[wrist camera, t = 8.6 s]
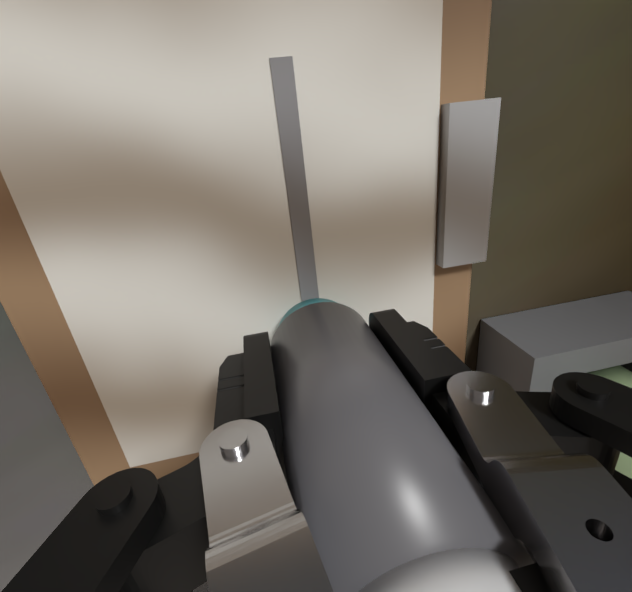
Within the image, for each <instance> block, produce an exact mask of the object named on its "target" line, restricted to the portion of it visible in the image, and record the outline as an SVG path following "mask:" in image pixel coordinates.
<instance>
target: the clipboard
mask: <svg viewBox="0 0 632 592" xmlns="http://www.w3.org/2000/svg"><path fill="white" fill-rule="evenodd" d="M491 5H492V0H0V301H1V303H2V305H3V307H4V309H5V311H6V313H7V315H8V317H9V319H10V321H11V323H12V325H13V327H14V329H15V331H16V333H17V335H18V337H19V339H20V341H21V343H22V345H23V347H24V348H25V350H26V352H27V354H28V356H29V358H30V360H31V362H32V364H33V366H34V368H35V370H36V372H37V374H38V376H39V378H40V380H41V382H42V384H43V386H44V388H45V390H46V392H47V394H48V396H49V398H50V400H51V402H52V404H53V406H54V408H55V410H56V412H57V413H58V415H59V417H60V419H61V421H62V423H63V425H64V427H65V429H66V431H67V433H68V435H69V437H70V439H71V441H72V443H73V445H74V447H75V449H76V451H77V453H78V455H79V457H80V459H81V461H82V463H83V465H84V467H85V469H86V471H87V473H88V475H89V476H90V478H91V480H92V482H93V484H94V486H95V485H96V484H97V483H99V482H100V481H101V480H103V479H105V478H106V477H108V476H110V475H112V474H114V473H116V472H119V471H122V470H125V469H129V468H144V469H147V470H149V471H151V472H152V473H153V474H154V475H155V476H156V478H157V479H159V478H161V477H163V476H165V475H167V474H169V473H171V472H173V471H175V470H177V469H180V468H181V467H183V466H185V465H187V464H189V463H190V462H191V461H193V460H194V459H195V458H197V457H198V456H199V451H200V447H201V445H202V443H203V441H204V440H205V438H206V437H207V436H208V435H209V434H210V433H211V432H212V431H213V428H214V418H215V407H216V397H217V392H218V391H217V387H218V376H219V367H220V366H221V364H222V363H223V362H224V360H225V359H226V357H227V356H229V355H235V354H240V353H244V351H243V336H245V335H251V334H256V333H262V332H267V331H268V335H269V340H270V346H271V341H272V338H273V335H274V333H275V331H276V329H277V328H278V326H279V324H280V321H281V319H282V318H283V316H284V315H285V314H286V313H287V312H288V310H290V309H291V308H292V307H293V306H295V305H296V304H298V303H300V302H302V301H305V300H309V299H314V298H324V299H329V300H332V301H335V302H337V303H339V304H343V305H346V306H348V307H350V308H352V309H353V310H355V311H356V312H357V313H359V314H360V315H361V316H362V317H363V319H364V320H365V321H366V323H367V324H368V326H369V314H370V313H372V312H378V311H383V310H389V309H395V310H396V311H397V312H398V313H399V314H400V315H401V316H402V317H403V318H404V319H405V321H406V322H411V321H415V322H417V323H419V324H421V325H423V326H426V327H428V328H429V329H430V330H431V331H432V332H433V333H434V334H435V335H436V336H437V338H438V339H440V340H441V341H442V342H443V343H444V344H445V346H447V347H448V348H449V349H450V350H451V351H452V352H453V353H454V354H455V355H456V356H457V357H458V358H459V359H460V360H462V361H463V362H465V349H466V335H467V322H468V309H469V296H470V282H471V269H472V263H477V262H483V261H486V256H487V246H488V235H489V224H490V213H491V202H492V191H493V181H494V170H495V159H496V148H497V137H498V126H499V115H500V105H501V98H492V99H484V98H485V84H486V71H487V58H488V45H489V32H490V18H491Z"/></svg>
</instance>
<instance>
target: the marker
mask: <svg viewBox="0 0 632 592" xmlns="http://www.w3.org/2000/svg"><path fill="white" fill-rule="evenodd" d="M271 352H272V359H273V366H274V373H275V380H276V386H277V393H278V400H279V407H280V414H281V420H282V427H283V434H284V441H283V455H284V463H285V470H286V478H287V485H288V488H289V490H290V493H291V496H292V498H293V501H294V504H295V506H296V508H297V509H300V510H301V511H302V513H303V515H304V517H305V520H306V522H307V525H308V527H309V530H310V532H311V535H312V537H313V540H314V543H315V545H316V548H317V550H318V553H319V555H320V558H321V561H322V563H323V566H324V568H325V571H326V574H327V576H328V579H329V581H330V584H331V586H332V589H333V592H521V590H520V588H519V587H518V585H517V584H516V582H515V580H514V579H513V577H512V576H511V574H510V572H509V571H510V570H513V569H517V568H520V567H523V566H527V565H530V564H534V561H533V560H532V558H531V556H530V555H529V553H528V552H527V551H526V549H525V548H524V546H523V545H522V544H521V543H520V542H519V541H518V540H517V539H515V538H514V536H513V535H512V533H511V531H510V530H509V528H508V526H507V525H506V523H505V522H504V520H503V519H502V517H501V515H500V514H499V512H498V511H497V509H496V508H495V506H494V505H493V503H492V501H491V500H490V498H489V497H488V495H487V494H486V492H485V491H484V489H483V488H482V487H481V485H480V484H479V482H478V481H477V479H476V478H475V477H474V475H473V474H472V472H471V471H470V469H469V468H468V467H467V465H466V464H465V462H464V461H463V459H462V458H461V457H460V455H459V454H458V452H457V451H456V450H455V448H454V447H453V445H452V444H451V442H450V441H449V440H448V438H447V437H446V435H445V434H444V432H443V431H442V430H441V428H440V427H439V425H438V424H437V422H436V421H435V420H434V418H433V417H432V415H431V414H430V413H429V411H428V410H427V408H426V407H425V405H424V404H423V403H422V401H421V400H420V398H419V397H418V395H417V394H416V393H415V391H414V390H413V388H412V387H411V385H410V384H409V383H408V381H407V380H406V378H405V377H404V376H403V374H402V373H401V371H400V370H399V368H398V367H397V366H396V364H395V363H394V361H393V360H392V358H391V357H390V356H389V354H388V353H387V351H386V350H385V348H384V347H383V346H382V344H381V343H380V341H379V340H378V338H377V337H376V336H375V334H374V333H373V331H372V330H371V329H370V327H369V326H368V324H367V323H366V321H365V320H364V319H363V317H362V316H361V315H360V314H359V313H357V312H356V311H355V310H353V309H352V308H350V307H348V306H346V305H343V304H339V303H337V302H335V301H332V300H329V299H324V298H314V299H309V300H305V301H302V302H300V303H298V304H296V305H295V306H293V307H292V308H291V309H290V310H288V312H287V313H286V314H285V315H284V316H283V318H282V319H281V321H280V324H279V326H278V328H277V329H276V331H275V333H274V335H273V338H272V341H271Z"/></svg>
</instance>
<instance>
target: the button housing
mask: <svg viewBox="0 0 632 592" xmlns="http://www.w3.org/2000/svg"><path fill="white" fill-rule="evenodd" d="M618 365H621V366H622V367H624V368H626V369H628V370H629V371H631V372H632V292H631V291H624V292H619V293H614V294H608V295H603V296H598V297H593V298H588V299H583V300H578V301H572V302H567V303H562V304H557V305H552V306H547V307H542V308H537V309H531V310H526V311H521V312H516V313H511V314H506V315H501V316H495V317H490V318H485V319H481V325H480V336H479V347H478V357H477V368H476V371H480V372H485V373H489V374H492V375H495V376H497V377H499V378H501V379H503V380H505V381H506V382H507V383H508V384H510V386H511V387H512V388H513V389H514V390H515V391H522V392H551V390H552V385H553V381H554V379H555V378H556V377H557V376H559V375H561V374H563V373H568V372H583V373H587V372H592V371H596V370H601V369H605V368H609V367H614V366H618Z"/></svg>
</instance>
